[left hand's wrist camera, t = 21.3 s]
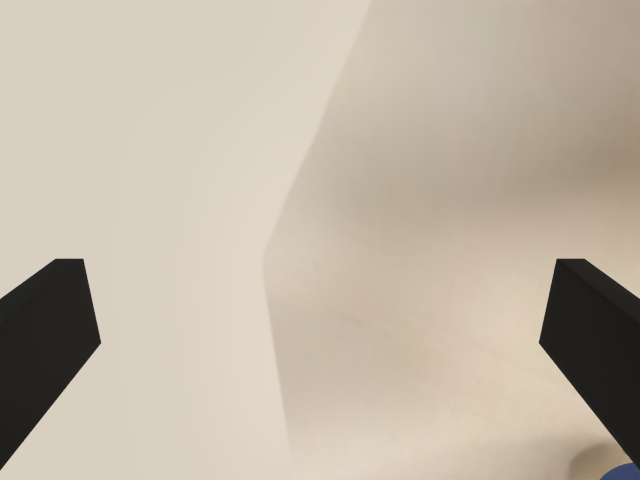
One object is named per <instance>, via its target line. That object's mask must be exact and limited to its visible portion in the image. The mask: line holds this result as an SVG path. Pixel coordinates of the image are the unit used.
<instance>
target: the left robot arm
mask: <svg viewBox="0 0 640 480" xmlns="http://www.w3.org/2000/svg"><path fill="white" fill-rule="evenodd" d="M100 344H101V340H100V335H99V331H98V326H97V321H96V316H95V312H94V307H93V302H92V298H91V293H90V288H89V284H88V279H87V274H86V269H85V265H84V260H83V259H55V260H53V261H52V262H50V263H49V264H48V265H46V266H45V267H44V268H42V269H41V270H39V271H38V272H37V273H35V274H34V275H33V276H31V277H30V278H28V279H27V280H26V281H24V282H23V283H22V284H20V285H19V286H17V287H16V288H15V289H13V290H12V291H11V292H9V293H8V294H7V295H5V296H4V297H2V298H1V299H0V470H1V469H2V468H3V466H4V465H5V464H6V463H7V461H8V460H9V459H10V457H11V456H12V455H13V454H14V452H15V451H16V450H17V449H18V447H19V446H20V445H21V444H22V442H23V441H24V440H25V438H26V437H27V436H28V435H29V433H30V432H31V431H32V430H33V428H34V427H35V426H36V425H37V423H38V422H39V421H40V420H41V418H42V417H43V416H44V414H45V413H46V412H47V411H48V409H49V408H50V407H51V406H52V404H53V403H54V402H55V401H56V399H57V398H58V397H59V396H60V394H61V393H62V392H63V390H64V389H65V388H66V387H67V385H68V384H69V383H70V382H71V380H72V379H73V378H74V377H75V375H76V374H77V373H78V372H79V370H80V369H81V368H82V366H83V365H84V364H85V363H86V361H87V360H88V359H89V358H90V356H91V355H92V354H93V353H94V351H95V350H96V349H97V348H98V346H99V345H100ZM539 344H540V345H541V346H542V348H543V349H544V350H545V351H546V353H547V354H548V355H549V356H550V358H551V359H552V360H553V361H554V363H555V364H556V365H557V366H558V368H559V369H560V370H561V372H562V373H563V374H564V375H565V377H566V378H567V379H568V380H569V382H570V383H571V384H572V385H573V387H574V388H575V389H576V391H577V392H578V393H579V394H580V396H581V397H582V398H583V399H584V401H585V402H586V403H587V404H588V406H589V407H590V408H591V409H592V411H593V412H594V413H595V415H596V416H597V417H598V418H599V420H600V421H601V422H602V423H603V425H604V426H605V427H606V428H607V430H608V431H609V432H610V433H611V435H612V436H613V437H614V439H615V440H616V441H617V442H618V444H619V445H620V446H621V447H622V449H623V450H624V451H625V452H626V454H627V455H628V456H629V457H630V459H631V460H632V461H633V463H634V464H635V465H636V466H637V468H638V469H639V470H640V299H639V298H638V297H636V296H635V295H634V294H632V293H631V292H629V291H628V290H627V289H625V288H624V287H623V286H621V285H620V284H618V283H617V282H616V281H614V280H613V279H612V278H610V277H609V276H607V275H606V274H605V273H603V272H602V271H601V270H599V269H598V268H596V267H595V266H594V265H592V264H591V263H590V262H588V261H587V260H585V259H557V260H556V265H555V269H554V274H553V279H552V284H551V288H550V293H549V298H548V302H547V307H546V312H545V316H544V321H543V326H542V331H541V335H540V340H539Z"/></svg>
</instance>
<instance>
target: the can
mask: <svg viewBox="0 0 640 480" xmlns="http://www.w3.org/2000/svg"><path fill="white" fill-rule="evenodd" d="M600 480H640V470H639V469H638V468H637V466H636V465H635V464H634V463H628V464H624V465H621V466H618V467H616V468H614V469H612V470H610V471H609V472H608V473H606V474H605V475H604V476H603V477H602V478H601V479H600Z"/></svg>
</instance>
